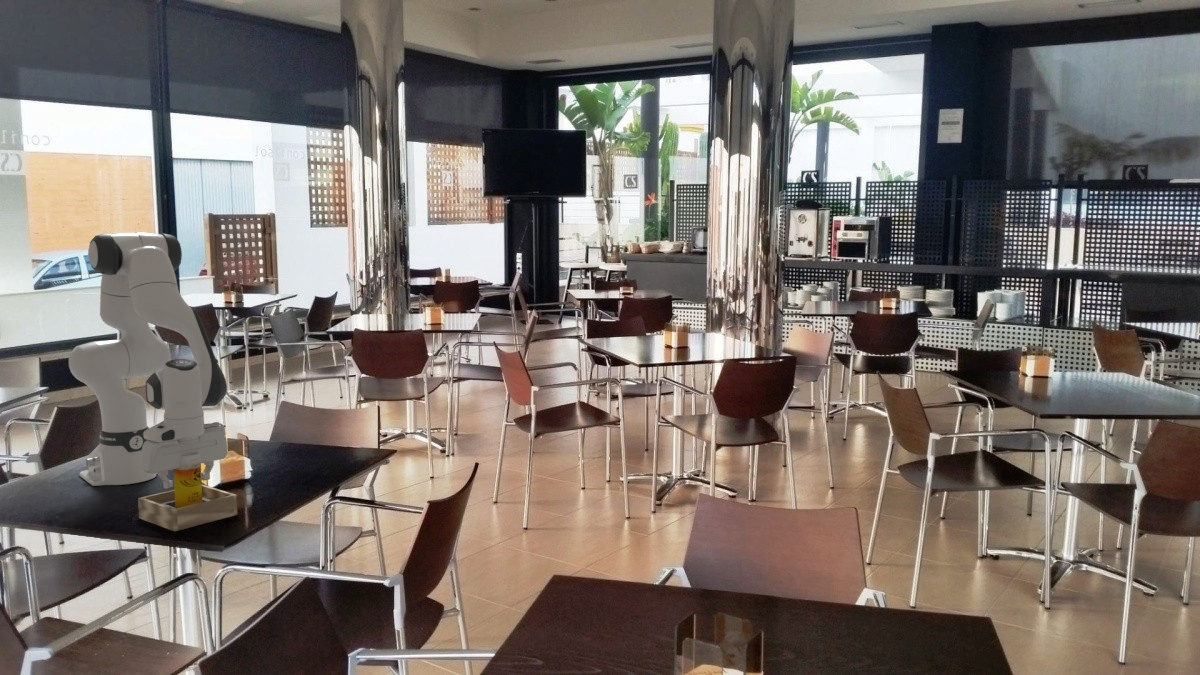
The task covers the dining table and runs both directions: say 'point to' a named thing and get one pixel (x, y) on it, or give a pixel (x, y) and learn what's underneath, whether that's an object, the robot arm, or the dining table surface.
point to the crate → (187, 509)
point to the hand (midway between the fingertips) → (187, 483)
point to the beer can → (188, 481)
